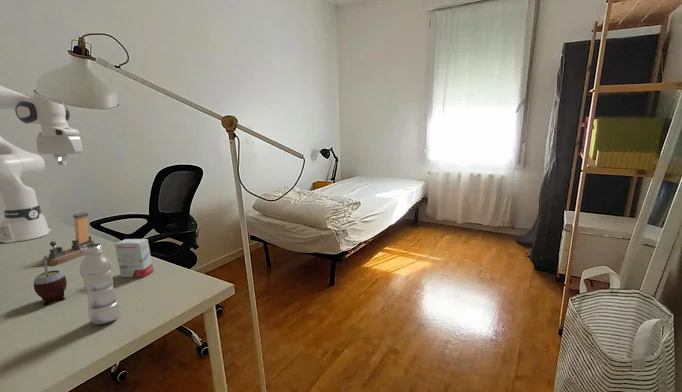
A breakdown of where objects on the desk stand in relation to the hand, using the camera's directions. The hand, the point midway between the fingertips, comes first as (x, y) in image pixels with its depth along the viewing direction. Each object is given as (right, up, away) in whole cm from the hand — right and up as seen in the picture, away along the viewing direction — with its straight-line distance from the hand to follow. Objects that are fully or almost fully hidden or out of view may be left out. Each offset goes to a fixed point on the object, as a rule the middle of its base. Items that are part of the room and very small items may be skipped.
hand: (62, 164), depth 141 cm
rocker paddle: (+14, -32, -7) cm, 36 cm away
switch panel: (+13, -37, -11) cm, 40 cm away
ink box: (+50, -40, -30) cm, 70 cm away
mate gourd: (+36, -43, -45) cm, 72 cm away
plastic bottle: (+59, -45, -57) cm, 93 cm away
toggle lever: (+11, -34, -16) cm, 40 cm away
